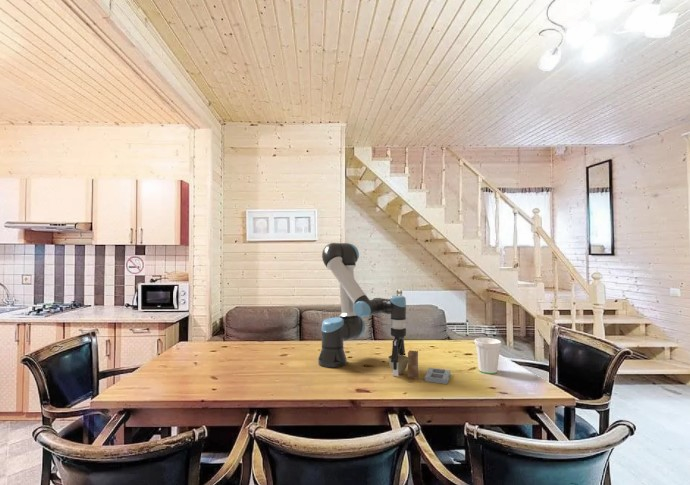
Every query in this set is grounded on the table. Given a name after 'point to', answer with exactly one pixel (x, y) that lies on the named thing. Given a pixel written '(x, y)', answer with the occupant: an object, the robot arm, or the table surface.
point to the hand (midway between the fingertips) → (398, 372)
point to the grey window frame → (437, 375)
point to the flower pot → (399, 363)
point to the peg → (413, 364)
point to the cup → (488, 354)
